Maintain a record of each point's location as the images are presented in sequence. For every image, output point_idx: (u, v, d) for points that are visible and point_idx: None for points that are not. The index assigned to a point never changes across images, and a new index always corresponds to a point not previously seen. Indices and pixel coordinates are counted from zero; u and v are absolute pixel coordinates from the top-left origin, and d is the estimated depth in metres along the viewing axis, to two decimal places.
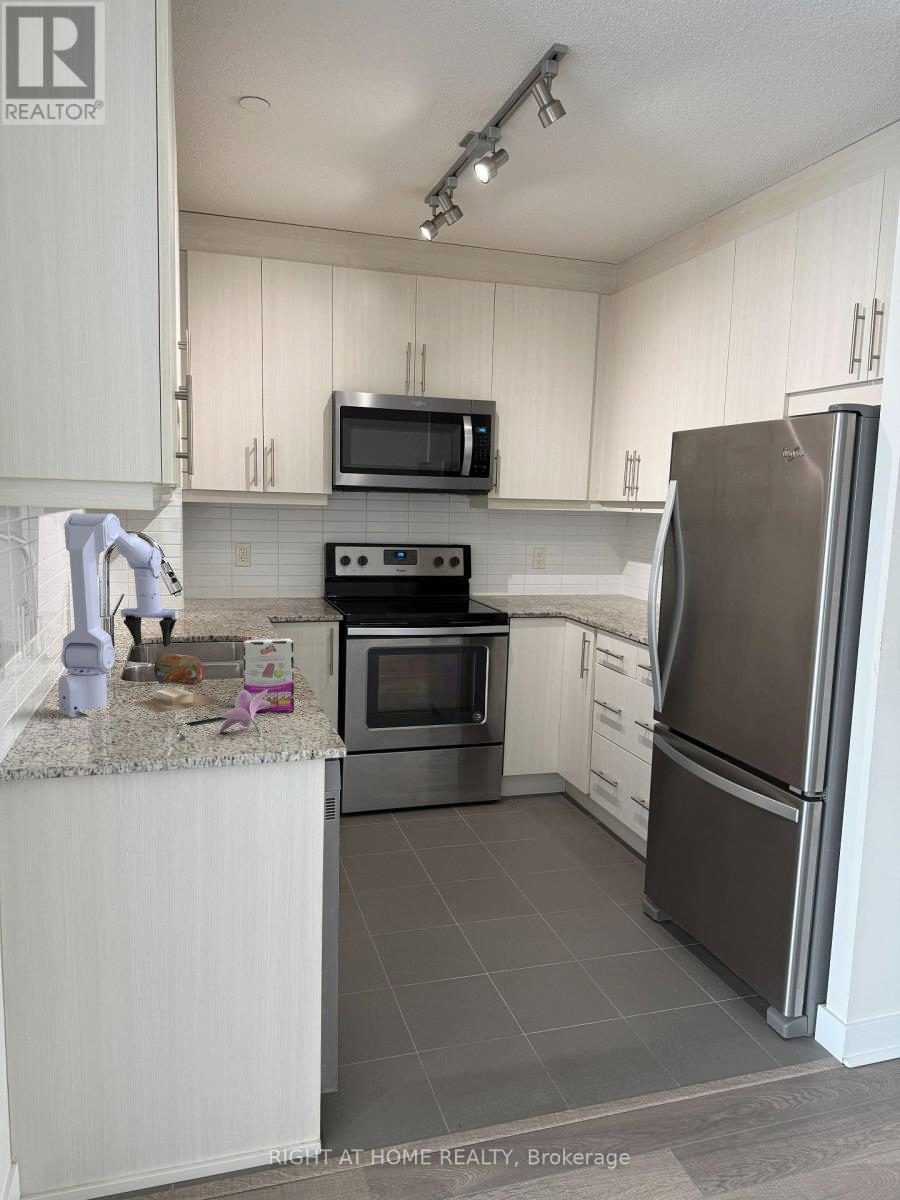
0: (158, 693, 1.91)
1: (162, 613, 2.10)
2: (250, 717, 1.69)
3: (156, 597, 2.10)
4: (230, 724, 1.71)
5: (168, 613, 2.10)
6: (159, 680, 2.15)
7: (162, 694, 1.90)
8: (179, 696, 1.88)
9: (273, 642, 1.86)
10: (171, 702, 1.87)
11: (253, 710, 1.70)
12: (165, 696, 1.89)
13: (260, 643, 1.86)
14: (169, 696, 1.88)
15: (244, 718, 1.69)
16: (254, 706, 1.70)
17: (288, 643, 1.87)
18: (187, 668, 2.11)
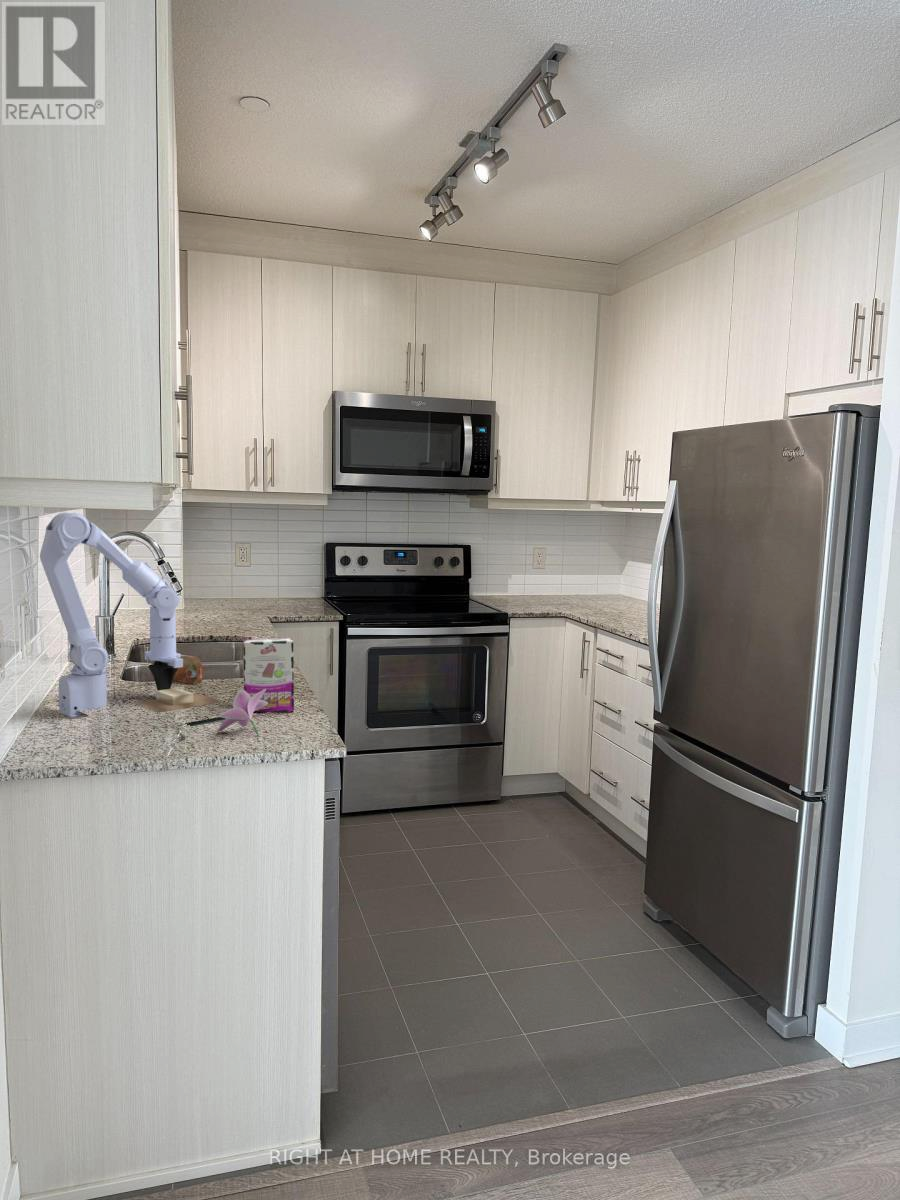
0: (158, 693, 1.91)
1: (165, 659, 1.90)
2: (248, 717, 1.69)
3: (164, 641, 1.91)
4: (228, 724, 1.71)
5: (170, 660, 1.89)
6: None
7: (162, 694, 1.90)
8: (179, 696, 1.88)
9: (273, 642, 1.86)
10: (171, 702, 1.87)
11: (251, 710, 1.70)
12: (165, 696, 1.89)
13: (260, 643, 1.86)
14: (169, 696, 1.88)
15: (242, 718, 1.69)
16: (252, 706, 1.70)
17: (288, 643, 1.87)
18: (187, 668, 2.11)
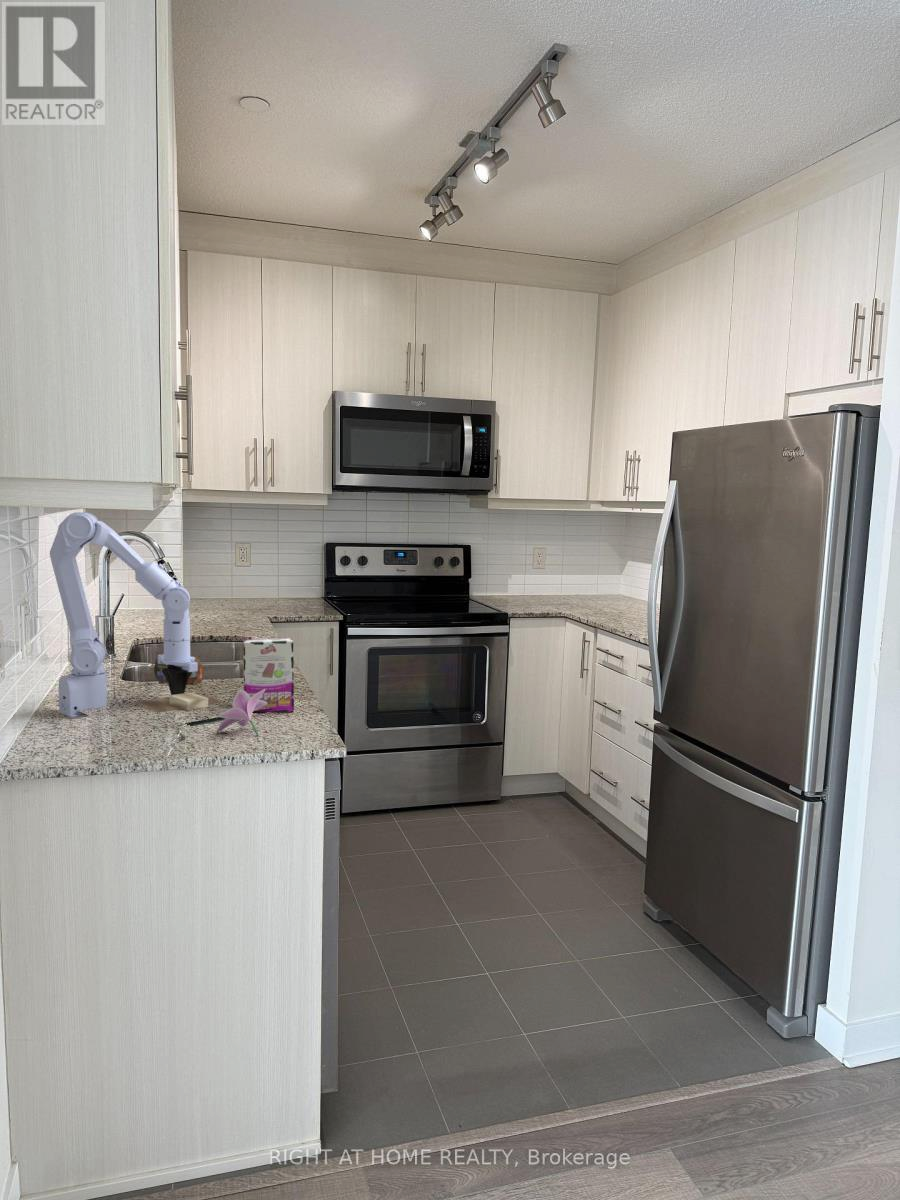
0: (172, 698, 1.87)
1: (179, 663, 1.85)
2: (247, 717, 1.69)
3: (178, 644, 1.86)
4: (227, 724, 1.71)
5: (184, 664, 1.85)
6: (159, 680, 2.15)
7: (176, 699, 1.85)
8: (194, 701, 1.83)
9: (273, 642, 1.86)
10: (185, 707, 1.83)
11: (250, 710, 1.70)
12: (179, 701, 1.84)
13: (260, 643, 1.86)
14: (184, 701, 1.83)
15: (241, 718, 1.69)
16: (251, 706, 1.70)
17: (288, 643, 1.87)
18: None
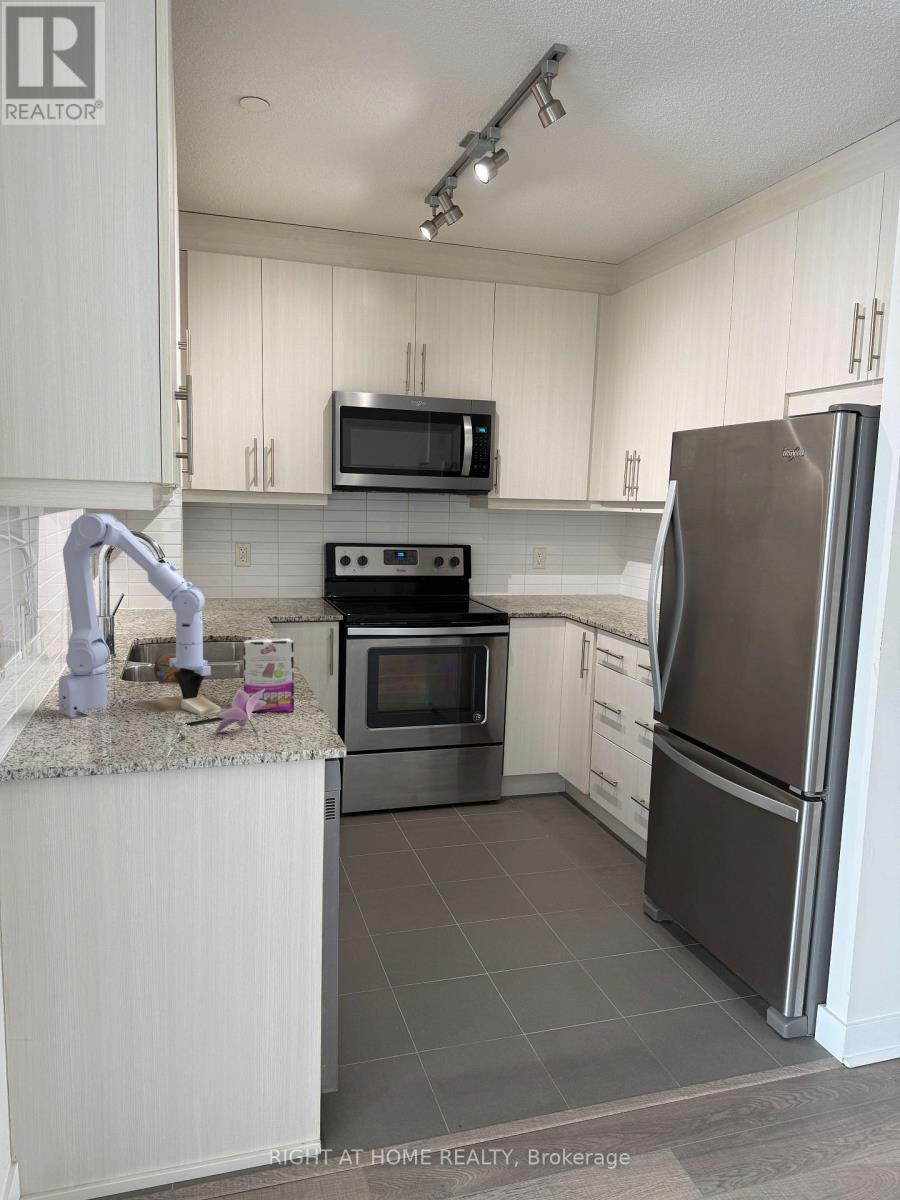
0: (184, 703, 1.83)
1: (192, 666, 1.81)
2: (247, 717, 1.69)
3: (191, 647, 1.83)
4: (226, 724, 1.71)
5: (197, 667, 1.81)
6: (159, 680, 2.15)
7: (188, 705, 1.82)
8: (206, 710, 1.80)
9: (273, 642, 1.86)
10: None
11: (250, 710, 1.70)
12: (192, 708, 1.81)
13: (260, 643, 1.86)
14: (196, 709, 1.79)
15: (241, 718, 1.69)
16: (251, 706, 1.70)
17: (288, 643, 1.87)
18: None
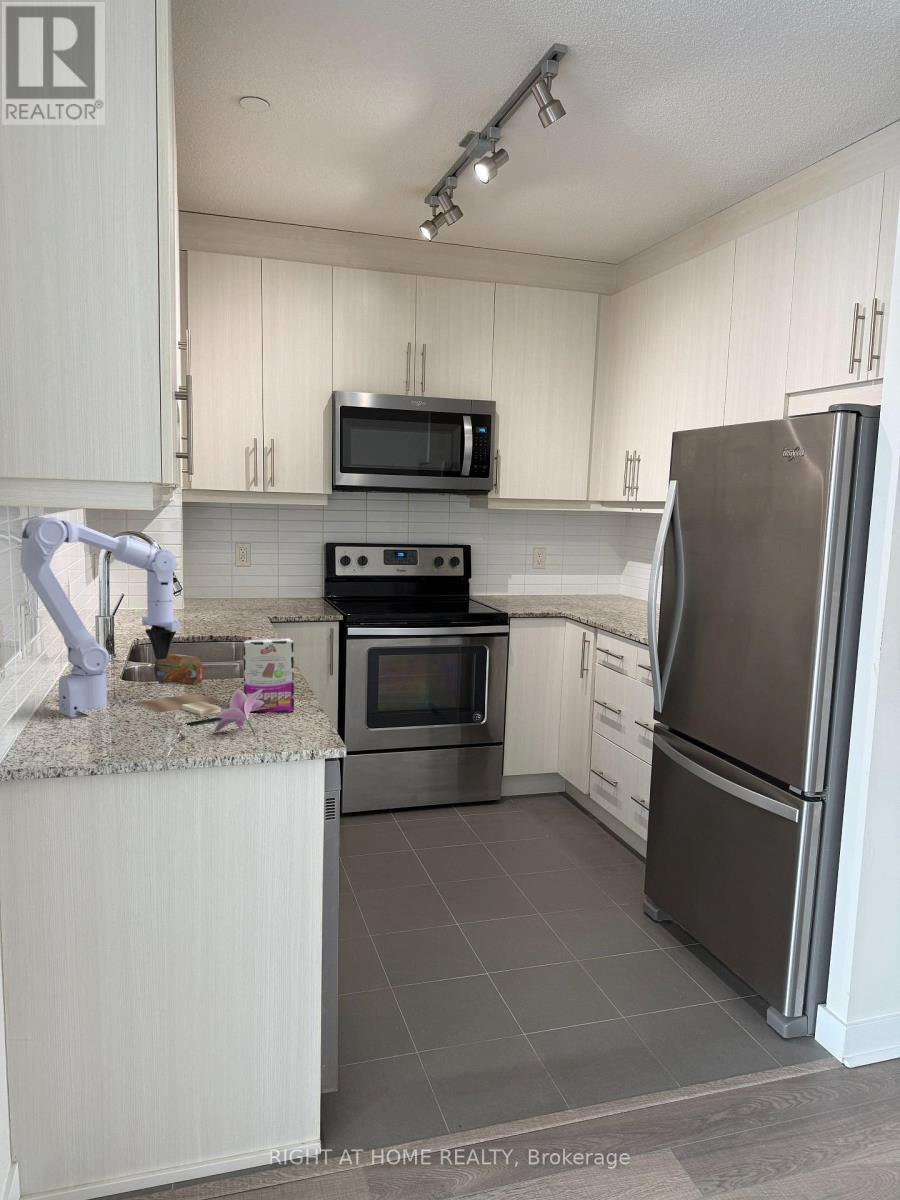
0: (184, 707, 1.83)
1: (162, 623, 1.89)
2: (245, 717, 1.69)
3: (162, 605, 1.91)
4: (224, 724, 1.71)
5: (167, 624, 1.89)
6: (159, 680, 2.15)
7: (189, 708, 1.81)
8: (207, 711, 1.79)
9: (273, 642, 1.86)
10: None
11: (248, 710, 1.70)
12: (192, 710, 1.80)
13: (260, 643, 1.86)
14: (196, 711, 1.79)
15: (239, 718, 1.69)
16: (249, 706, 1.70)
17: (288, 643, 1.87)
18: (187, 668, 2.11)
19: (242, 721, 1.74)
